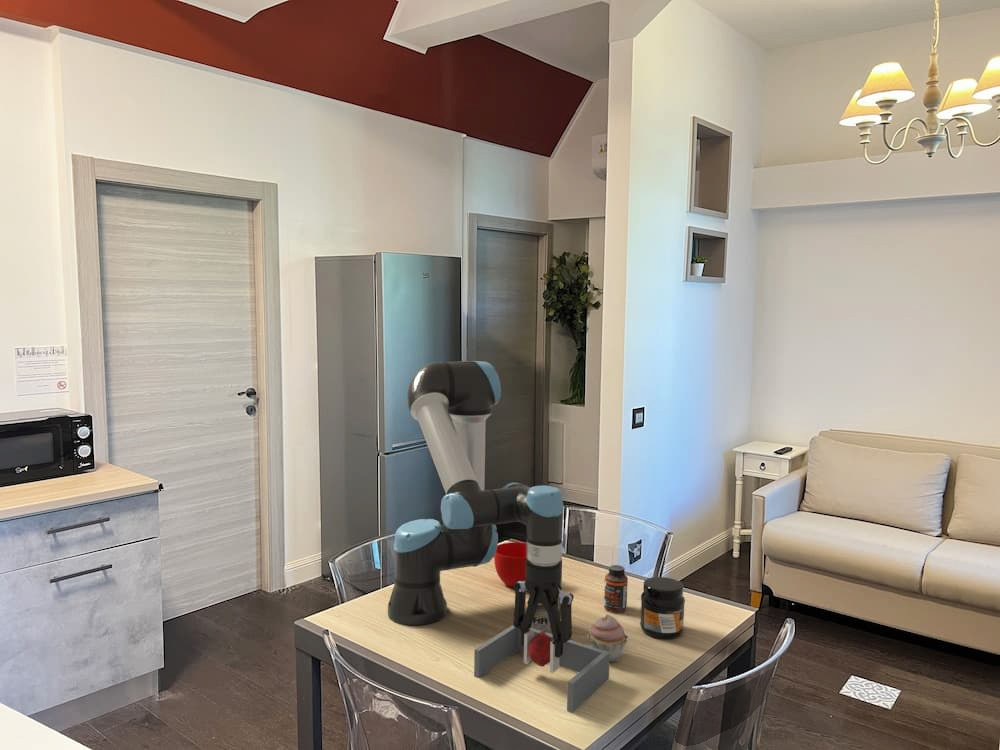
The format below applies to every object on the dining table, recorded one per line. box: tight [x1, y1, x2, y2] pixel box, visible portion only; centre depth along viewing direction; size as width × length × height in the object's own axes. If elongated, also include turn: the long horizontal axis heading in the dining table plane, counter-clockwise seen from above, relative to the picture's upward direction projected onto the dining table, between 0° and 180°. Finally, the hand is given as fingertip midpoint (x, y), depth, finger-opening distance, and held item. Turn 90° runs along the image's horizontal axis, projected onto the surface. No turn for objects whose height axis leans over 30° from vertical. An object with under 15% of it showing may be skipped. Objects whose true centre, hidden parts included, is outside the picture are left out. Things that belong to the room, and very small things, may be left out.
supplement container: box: [639, 576, 686, 640], centre depth 180 cm, size 10×10×12 cm
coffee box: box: [531, 559, 563, 634], centre depth 181 cm, size 9×6×16 cm
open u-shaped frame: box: [473, 624, 610, 714], centre depth 156 cm, size 24×16×6 cm, turn 55°
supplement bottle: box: [603, 564, 629, 614], centre depth 192 cm, size 6×6×11 cm
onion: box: [528, 630, 553, 668], centre depth 156 cm, size 6×6×8 cm
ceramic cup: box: [493, 541, 528, 589], centre depth 209 cm, size 13×17×10 cm
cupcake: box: [586, 613, 629, 663], centre depth 166 cm, size 9×9×10 cm
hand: (541, 665), depth 156 cm, fingers closed on onion, 6 cm apart
